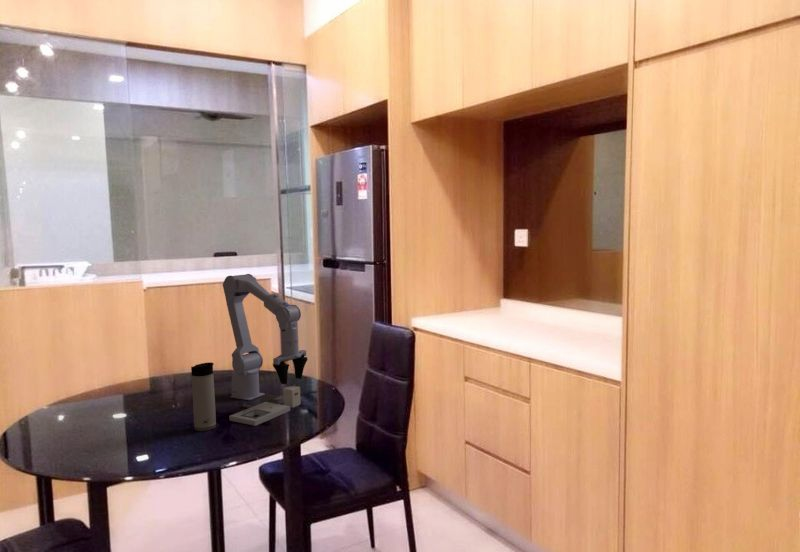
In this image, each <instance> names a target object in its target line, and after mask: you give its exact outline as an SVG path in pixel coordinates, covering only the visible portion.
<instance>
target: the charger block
mask: <svg viewBox="0 0 800 552" xmlns="http://www.w3.org/2000/svg"><path fill="white" fill-rule="evenodd" d="M282 394H283V395H282V396H283V399H284V403H283V405H286V406H290V408H296V407H298V406H300V405H301V386H294V385H289V386H287V387H284V388H282Z"/></svg>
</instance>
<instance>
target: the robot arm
mask: <svg viewBox="0 0 800 552" xmlns="http://www.w3.org/2000/svg"><path fill="white" fill-rule="evenodd" d="M222 288H223V293H224V297H225V302H226V306H227V311H228V316H229V319H230V325H231V328H232V333H233V336H234V341H235V345H236V348H235V349H234V351H233V352H232V353H231V357H232V360H231V361H232V362H231V365H232V366H231V367H232V369H233V371H234V373H233V374H232V377H231V395H230V398H232V399H233V398H234V399H239V400H245V401H253V400H255V399H258V398H261V397H263V396H266V395H265V394H266V393H264V392H260V379H259V375H260V374H259V372H260V371H261V370H260V369H261V368H262V367H263V364H264V363H263V362H264V359H263V356H262V354H261V353H260V349H259V347H258V346H256V345H254V344H253V343H252V338H251V333H250V329H249V326H248V321H247V317H246V314H245V313H246V312H245V308H244V304H243V302H244V299H245V298H247V297H248V296H249V294H251V295H253V296H255V297H256V298H257V299H259V300H260V301H261V302H263V306H264V308H265V309H267V310H268V311H269V312H270V313H272V315H274V316H275V320H276V321H277V323H278V328H279V329H280V346H281V347H280V348H281V349H280V351H281V354H279V355H277V356H276V357H275V358H274V357H273V358H272V360H273V362H272V366H273V368H274V371H275V372H276V374H277V376H278V379H279V382H280V384H281V385H287V384H288V371H289V368H290V364H289V363H286V362H288V361H292V363H293V368H294V377H295V379H302V377H303V375H304V374H303V372H304V369H305V365H306V363H307V362H308V356H307V350H306V349H305V350H304V349H301V350H299V330H298V321H300V319H301V316H302V312H301V310H300V308H299V307H298V305H296V304H290V303H289V302H288V301H285V300H284V299H283V298H281V297H280V294H278V293H270V292H269V291H268V290H267V289H265V288H264V287H263V286H262V285H261V284H260V283H259V282H258V281H257V277H255V276H253V274H250V273H246V274H237V275H228V276H227V275H226V277H225V279H223V283H222Z"/></svg>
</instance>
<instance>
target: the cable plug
mask: <svg viewBox="0 0 800 552" xmlns="http://www.w3.org/2000/svg"><path fill="white" fill-rule="evenodd" d="M272 403H274V404H280V405H282V404H284V399H283V395H279V396H278V397H277V398H274V399H273V402H272Z"/></svg>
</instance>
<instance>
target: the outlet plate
mask: <svg viewBox="0 0 800 552" xmlns="http://www.w3.org/2000/svg"><path fill="white" fill-rule="evenodd" d="M289 412H291V407H290V406H286V405H284V404H274V403H273V402H272V403H269V402H264V403H261V404H259V405H256V406H253V407H251V408H246V409H243V410H240V411H238V412H235V413H234V414H231V415H229V416H228V417H229V419H228V421H230V422H236V423H240V424H244V425H251V426H255V427H256V426H258V425H260V424H263V423H265V422H268V421H270V420H272V419H274V418H277V417H279V416H282V415H283V414H285V413H289Z"/></svg>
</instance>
